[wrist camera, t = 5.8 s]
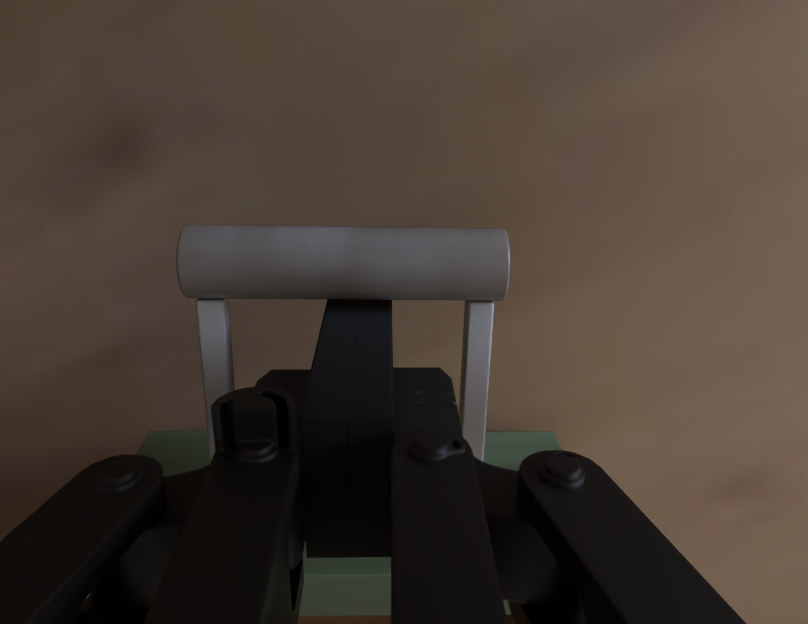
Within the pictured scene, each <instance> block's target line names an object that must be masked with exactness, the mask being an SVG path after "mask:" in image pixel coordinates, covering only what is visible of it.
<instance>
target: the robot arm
mask: <svg viewBox="0 0 808 624" xmlns="http://www.w3.org/2000/svg"><path fill="white" fill-rule="evenodd" d="M211 415H212V424H213V434H214V443H215V453H214V456H213V458H212V460H211V463H210V465H208V466H206V467H203V468H201V469H197V470H193V471H190V472H185V473H180V474H175V475H170V476H165V477H164V476H163V469H162V465H161V464H160V463H159V462H158V461H157V460H156V459H154V458H151V457H147V456H144V455H128V454H126V455H119V456H113V457H109V458H107V459H104V460H102V461H99V462H96V463H94V464H92V465H90V466H89V467H87V468H86V469H84V470H83V471H81V472H79V473H78V474H77V475H76V476H75V477H74V478H73V479H71V480H70V481H69V482H68V483H67V484H66V485H65V486H63V487H62V488H61V489H60V490H59V491H58V492H56V493H55V494H54V495H53V496H52V497H51V498H50V499H48V500H47V501H46V502H45V503H44V504H43V505H42V506H40V507H39V508H38V509H37V510H36V511H35V512H34V513H32V514H31V515H30V516H29V517H28V518H27V519H26V520H24V521H23V522H22V523H21V524H20V525H19V526H18V527H16V528H15V529H14V530H13V531H12V532H11V533H10V534H8V535H7V536H6V537H5V538H4V539H3V540H2V541H0V624H298V618H299V611H300V604H301V598H302V591H303V585H304V566H303V552H304V546H305V540H306V557H307V558H361V557H391V624H508V622H507V617H506V612H505V607H504V602H503V600H507V601H508V604H509V608H510V612H511V615H512V617H513V619H514V621H515V622H516V624H746V623H745V622H744V621H743V620H742V619H741V618H740V616H739V615H738V614H737V613H736V612H735V611H734V610H733V609H732V608H731V607H730V606H729V605H728V604H727V603H726V601H725V600H724V599H723V598H722V597H721V596H720V595H719V594H718V593H717V592H716V591H715V590H714V589H713V587H712V586H711V585H710V584H709V583H708V582H707V581H706V580H705V579H704V578H703V577H702V576H701V575H700V574H699V572H698V571H697V570H696V569H695V568H694V567H693V566H692V565H691V564H690V563H689V562H688V561H687V560H686V558H685V557H684V556H683V555H682V554H681V553H680V552H679V551H678V550H677V549H676V548H675V547H674V546H673V545H672V543H671V542H670V541H669V540H668V539H667V538H666V537H665V536H664V535H663V534H662V533H661V532H660V531H659V529H658V528H657V527H656V526H655V525H654V524H653V523H652V522H651V521H650V520H649V519H648V518H647V517H646V516H645V514H644V513H643V512H642V511H641V510H640V509H639V508H638V507H637V506H636V505H635V504H634V503H633V502H632V500H631V499H630V498H629V497H628V496H627V495H626V494H625V493H624V492H623V491H622V490H621V489H620V488H619V487H618V485H617V484H616V483H615V482H614V481H613V480H612V479H611V478H610V477H609V476H608V475H607V474H606V473H605V471H604V470H603V469H602V468H601V467H600V466H598V465H597V464H596V463H594V462H593V461H592V460H590V459H588V458H586V457H583V456H581V455H579V454H576V453H573V452H569V451H563V450H546V451H540V452H537V453H533V454H530V455H529V456H528V457H526V458H525V459H524V460H522V462H521V465H520V468H519V471H515V470H510V469H505V468H501V467H497V466H493V465H490V464H488V463H485V462H483V461H481V460H479V459H478V458H476V457H475V456H473V452H472V448H471V447H470V445H469V443H468V441H466V440H465V439H464V438H463V435H462V430H461V425H460V420H459V415H458V409H457V404H456V399H455V394H454V389H453V384H452V379H451V378H450V377H449V376H448V375H447V374H446V373H445V372H444V371H443V370H442V369H441V368H393V350H392V300H358V299H327V304H326V308H325V312H324V316H323V321H322V325H321V329H320V333H319V337H318V342H317V346H316V350H315V354H314V358H313V363H312V367H311V370H271V371H269V372H268V373H267V374H266V375H264V376H263V377H262V378H260V379H259V380H258V381H257V383H256V386H255V387H251V388H243V389H239V390H235V391H232V392H229V393H227V394H225V395H223V396H221V397H219V398H217V400H216V401H215V402H214V403H213V404H212V405H211ZM89 593H90V595H89ZM88 595H89V597H88V598H87V596H88ZM86 598H87V599H86Z"/></svg>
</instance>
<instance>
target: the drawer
mask: <svg viewBox="0 0 808 624" xmlns="http://www.w3.org/2000/svg"><path fill="white" fill-rule="evenodd" d="M176 264H177V276H178V281H179V285H180V288H181V291H182V293H183V295H184V296H185V297H187V298H198V300H197V301H196V307H197V318H198V329H199V341H200V352H201V363H202V374H203V385H204V396H205V407H206V418H207V429H208V431H151V432H150V433H149V434H148V436H147V438H146V439H145V441H144V443H143V444H142V446H141V447H140V449H139V451H138V452H137V454H136V455H144V456H147V457H151V458H154V459H156V460H157V461H158V462H159V463H160V464H161V465H162V469H163V476H164V477H165V476H170V475H175V474H180V473H185V472H190V471H193V470H197V469H201V468H203V467H206V466H208V465H210V463H211V460H212V458H213V456H214V453H215V443H214V434H213V424H212V415H211V405H212V404H213V403H214V402H215V401H216V400H217V398H219V397H221V396H223V395H225V394H227V393H229V392H232V391H235V385H234V371H233V358H232V344H231V330H230V316H229V303H228V298H238V299H358V300H465V311H464V330H463V348H462V367H461V385H460V404H459V420H460V425H461V430H462V435H463V438H464V439H465V440H466V441H468V443H469V445H470V447H471V448H472V452H473V456H475V457H476V458H478V459H479V460H481V461H483V462H485V463H488V464H490V465H493V466H497V467H501V468H505V469H510V470H515V471H519V468H520V465H521V462H522V460H524V459H525V458H526V457H528V456H529V455H530V454H533V453H537V452H540V451H546V450H562V448H561V446H560V444H559V442H558V439H557V437H556V435H555V433H554V432H485V430H486V416H487V402H488V387H489V373H490V358H491V344H492V330H493V315H494V303H493V301H501V300H504V299H505V297H506V294H507V291H508V286H509V279H510V244H509V238H508V235H507V232H506V230H504V229H494V228H412V227H331V226H249V225H186V226H184V227H183V228H182V230H181V232H180V235H179V239H178V244H177V256H176ZM303 566H304V585H303V591H302V598H301V604H300V611H299V618H298V624H391V557H361V558H307V557H306V540H305V546H304V552H303ZM89 595H90V593H89ZM89 595H88V596H87V598H88V597H89ZM87 598H86V599H87ZM503 602H504V607H505V612H506V617H507V622H508V624H516V622H515V621H514V619H513V617H512V615H511V612H510V608H509V604H508V601H507V600H503Z"/></svg>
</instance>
